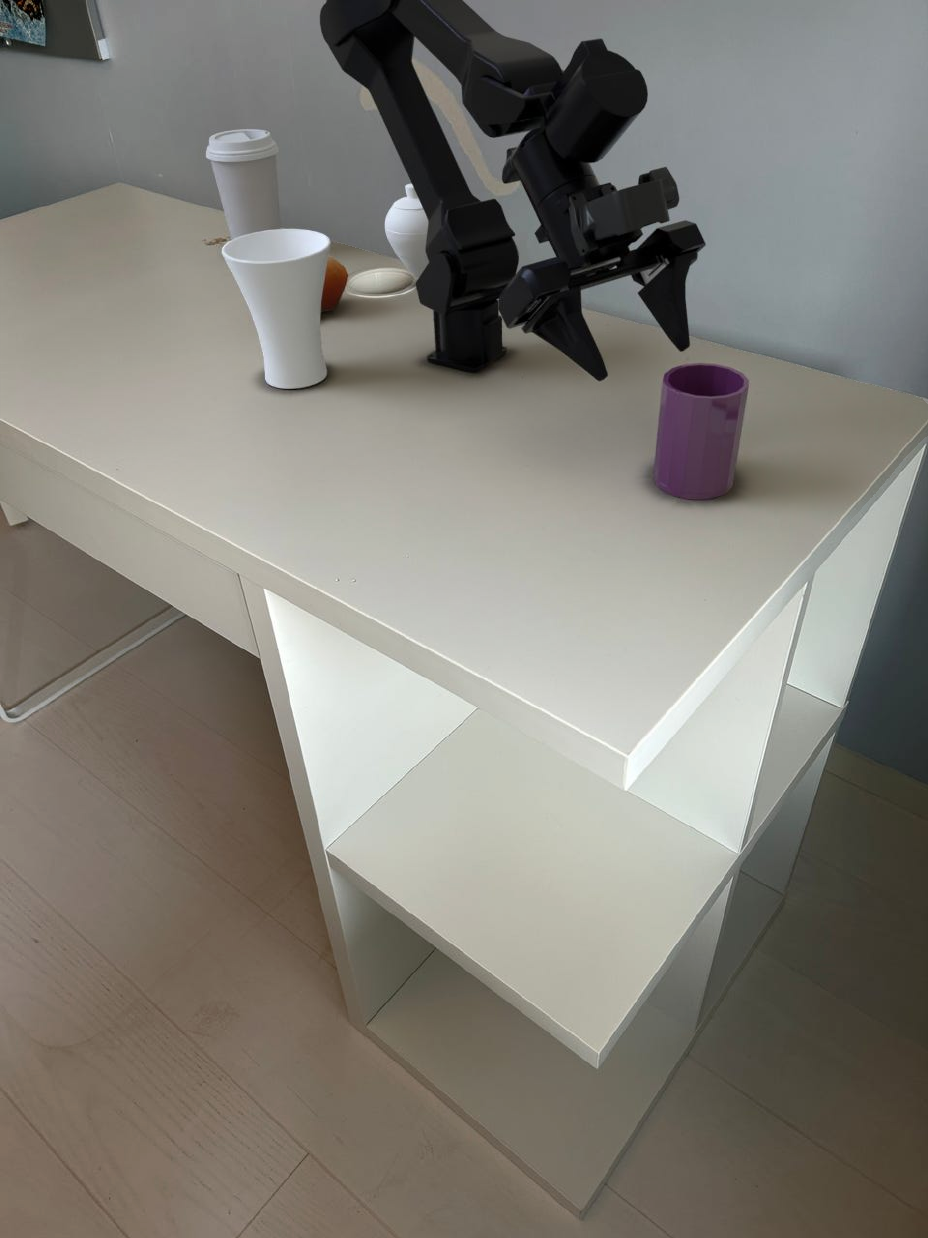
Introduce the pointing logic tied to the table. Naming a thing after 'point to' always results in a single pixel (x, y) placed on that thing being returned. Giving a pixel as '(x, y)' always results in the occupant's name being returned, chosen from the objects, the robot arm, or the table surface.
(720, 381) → the tumbler
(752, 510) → the table surface
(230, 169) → the coffee cup
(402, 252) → the spinning top
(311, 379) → the cup
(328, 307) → the fruit
